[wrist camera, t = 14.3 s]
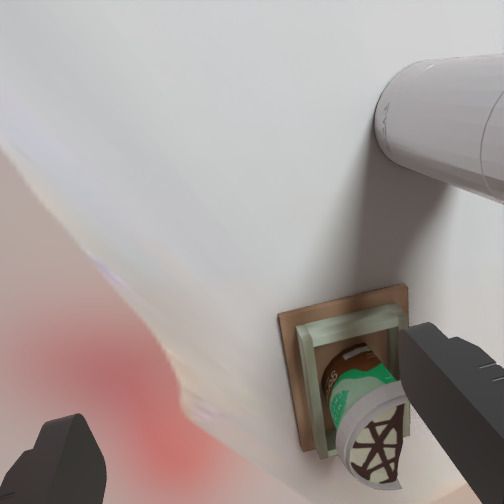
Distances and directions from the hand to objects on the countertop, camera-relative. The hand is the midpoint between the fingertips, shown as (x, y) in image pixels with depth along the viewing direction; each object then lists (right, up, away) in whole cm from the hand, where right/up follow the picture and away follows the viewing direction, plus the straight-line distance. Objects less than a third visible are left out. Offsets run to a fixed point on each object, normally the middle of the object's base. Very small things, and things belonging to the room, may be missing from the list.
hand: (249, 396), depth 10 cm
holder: (+11, -10, +37) cm, 40 cm away
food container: (+10, -11, +36) cm, 39 cm away
